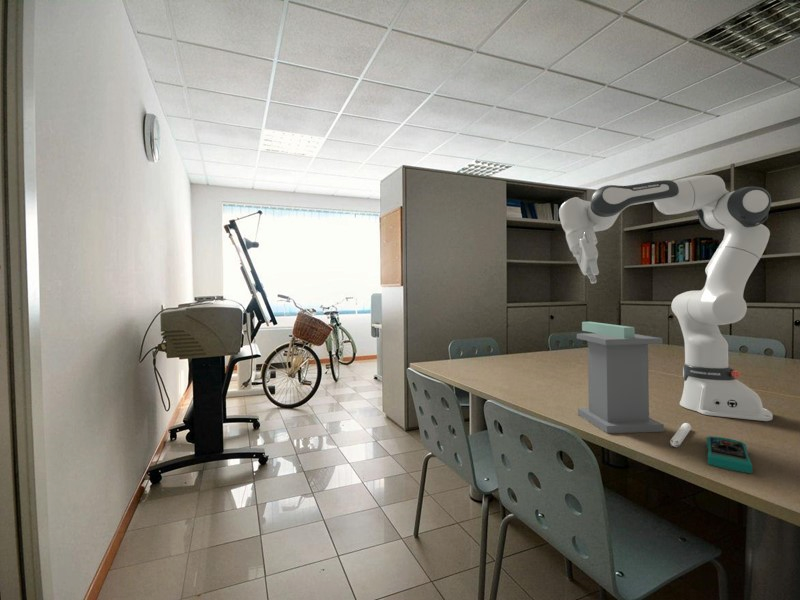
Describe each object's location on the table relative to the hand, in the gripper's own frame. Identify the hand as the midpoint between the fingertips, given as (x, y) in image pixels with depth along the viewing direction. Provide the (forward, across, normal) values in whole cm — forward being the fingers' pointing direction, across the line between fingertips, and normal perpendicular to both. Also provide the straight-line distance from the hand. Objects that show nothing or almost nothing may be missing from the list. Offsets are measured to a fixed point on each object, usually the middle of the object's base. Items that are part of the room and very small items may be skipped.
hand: (595, 278), depth 122 cm
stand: (+45, 0, +7) cm, 45 cm away
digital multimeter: (+55, -17, -11) cm, 59 cm away
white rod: (+51, -7, -5) cm, 51 cm away
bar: (+19, -2, +3) cm, 19 cm away
